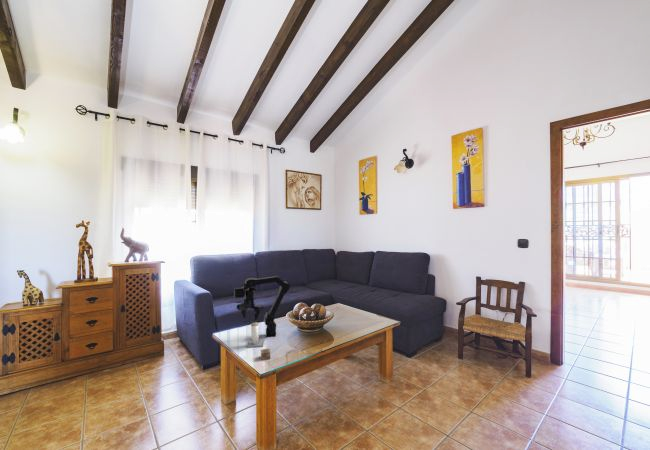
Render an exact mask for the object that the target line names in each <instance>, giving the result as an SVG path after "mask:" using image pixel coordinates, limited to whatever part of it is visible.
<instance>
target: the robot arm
mask: <svg viewBox="0 0 650 450" xmlns="http://www.w3.org/2000/svg"><path fill="white" fill-rule="evenodd" d="M273 283H277V285H279V288H278V293H277V295H276V297H275V299H274V301H273V303H272V305H271V308H270V310H269V311H268V312H267V311H266V312H265V314H264V316H263V322H264V324H265V326H266V328H265V335H266V338H273V337H276V336H277V323H276V322H275V317H276V314H277V311H278V309H279V307H280V305H281V303H282V301H283V298H284V296H285V295H286V294H287V293H288V292H289V290H290V289H291V285H290V283H288V282H287V281H283V280H282V279H281V278H280V277H279V276H278V275H274V276H268V277H262V278H261V277H260V278H255V277H248V278H246V279H245V281H244V284H243V286H242V287H234V294H233V296H234V299H242V298H244V297H245V298H244V300H243V302H240V303H238V304H237V305H236V310H238V311H240V312H241V315H242V317H243V319H244V320H245V319H247V318H246V317H247V310H248V309H249V310H250V309H253V313H254V321H257V320H258V316H259V314H260V312H262V311H263V310H264V305H263V304H256V302H255V300H256V297H255V291H257V287H256V286H259V285H264V284H273Z"/></svg>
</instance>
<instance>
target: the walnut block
mask: <svg viewBox="0 0 650 450" xmlns="http://www.w3.org/2000/svg"><path fill="white" fill-rule="evenodd" d="M260 359H261V361H265V360H271V349H270V348H264V349H260Z"/></svg>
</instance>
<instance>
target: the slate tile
mask: <svg viewBox="0 0 650 450" xmlns="http://www.w3.org/2000/svg"><path fill="white" fill-rule="evenodd" d="M265 342H266V339H265V338H264V339H263V338H261V339H259V343H258V344H256V345H253V344H252V339H250V340H249V341H248V343H247V345H246V348H262V347H264V345H265Z"/></svg>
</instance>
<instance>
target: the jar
mask: <svg viewBox="0 0 650 450" xmlns="http://www.w3.org/2000/svg"><path fill="white" fill-rule="evenodd" d="M250 326H251V329H250V330H251V331H250V334H251V340H252V344H253V345H256V344H258V343H259V340H260V339H259V336H260V335H259V322H257V321H255V322H251V323H250Z"/></svg>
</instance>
